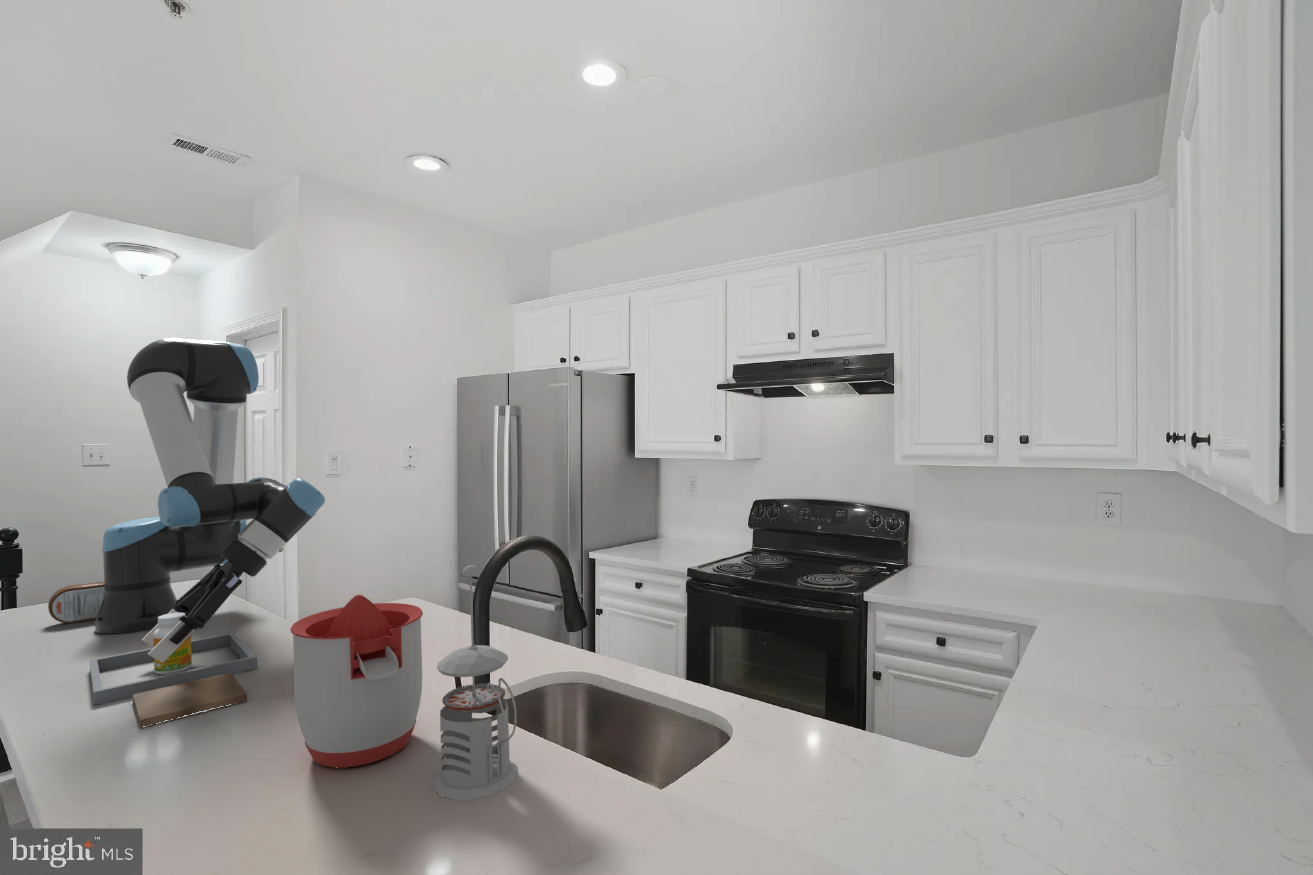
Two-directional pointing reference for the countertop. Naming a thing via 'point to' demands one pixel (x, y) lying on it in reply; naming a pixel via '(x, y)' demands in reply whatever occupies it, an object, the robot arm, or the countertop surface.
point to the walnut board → (187, 698)
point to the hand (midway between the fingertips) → (152, 650)
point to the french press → (474, 724)
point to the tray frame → (128, 689)
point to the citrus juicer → (358, 680)
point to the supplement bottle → (181, 655)
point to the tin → (77, 602)
